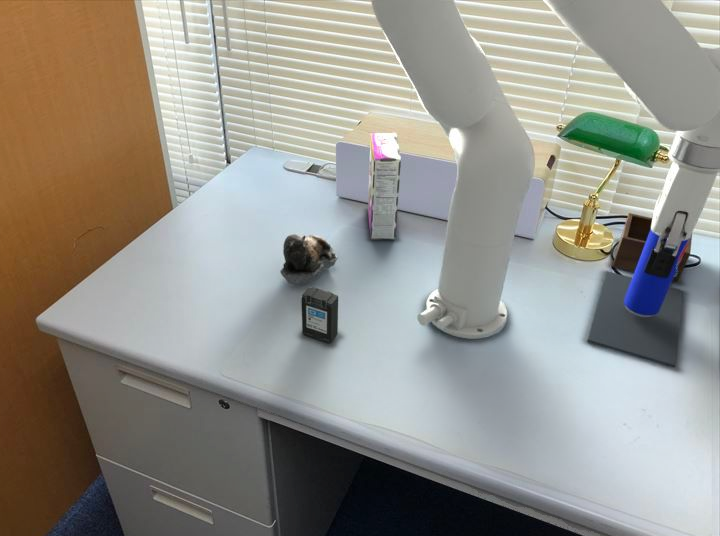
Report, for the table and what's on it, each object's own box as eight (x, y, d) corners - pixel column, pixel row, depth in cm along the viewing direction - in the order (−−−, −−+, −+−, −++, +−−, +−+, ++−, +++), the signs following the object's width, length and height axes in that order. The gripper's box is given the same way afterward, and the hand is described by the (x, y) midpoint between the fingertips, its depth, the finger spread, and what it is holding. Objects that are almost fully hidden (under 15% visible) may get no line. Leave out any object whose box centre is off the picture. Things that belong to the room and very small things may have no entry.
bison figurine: (309, 253, 113) (308, 203, 107) (344, 263, 110) (345, 213, 104) (274, 288, 105) (271, 236, 99) (311, 300, 102) (310, 248, 96)
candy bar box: (366, 210, 125) (370, 131, 115) (391, 210, 125) (397, 132, 115) (368, 240, 116) (373, 158, 106) (395, 240, 116) (402, 158, 106)
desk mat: (674, 367, 90) (675, 365, 89) (586, 342, 94) (587, 339, 94) (682, 292, 104) (683, 290, 103) (605, 273, 108) (606, 271, 108)
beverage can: (661, 320, 95) (698, 236, 86) (625, 316, 96) (658, 232, 87) (654, 300, 99) (688, 218, 90) (620, 296, 100) (650, 214, 91)
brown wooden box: (677, 283, 106) (690, 253, 102) (612, 266, 110) (622, 237, 106) (680, 255, 112) (693, 226, 109) (619, 241, 116) (628, 212, 112)
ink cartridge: (301, 335, 95) (300, 293, 90) (308, 326, 97) (308, 285, 92) (330, 345, 94) (331, 303, 89) (337, 336, 95) (338, 294, 90)
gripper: (675, 121, 89) (636, 231, 100) (666, 170, 77) (623, 288, 88) (735, 131, 86) (688, 243, 97) (735, 183, 74) (681, 303, 85)
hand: (657, 263), depth 93 cm, fingers closed on beverage can, 5 cm apart
